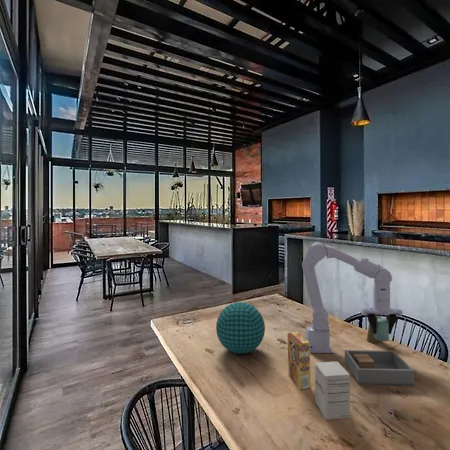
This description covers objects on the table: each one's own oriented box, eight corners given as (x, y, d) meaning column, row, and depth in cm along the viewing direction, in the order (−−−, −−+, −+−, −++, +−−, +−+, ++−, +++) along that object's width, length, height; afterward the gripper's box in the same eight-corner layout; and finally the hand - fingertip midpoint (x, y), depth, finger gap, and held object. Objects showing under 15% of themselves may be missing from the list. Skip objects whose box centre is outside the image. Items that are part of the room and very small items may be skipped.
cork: (384, 344, 125) (384, 319, 124) (368, 343, 126) (369, 318, 125) (379, 338, 131) (379, 314, 130) (365, 337, 132) (365, 313, 131)
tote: (358, 384, 97) (358, 369, 97) (344, 362, 110) (344, 350, 110) (414, 385, 96) (414, 370, 95) (393, 363, 109) (393, 350, 109)
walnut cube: (374, 375, 101) (374, 361, 100) (359, 375, 101) (359, 361, 101) (367, 367, 106) (367, 354, 105) (353, 367, 106) (353, 354, 106)
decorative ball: (206, 352, 121) (205, 304, 120) (238, 336, 136) (237, 293, 135) (244, 369, 108) (243, 315, 107) (274, 349, 122) (274, 302, 121)
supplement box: (314, 403, 88) (314, 362, 87) (338, 401, 89) (338, 360, 88) (325, 420, 81) (324, 376, 80) (350, 418, 81) (350, 374, 81)
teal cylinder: (377, 341, 112) (377, 323, 112) (372, 335, 117) (372, 318, 117) (391, 341, 112) (391, 323, 112) (385, 335, 117) (385, 318, 117)
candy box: (311, 388, 95) (310, 342, 95) (299, 390, 94) (298, 343, 94) (298, 373, 104) (298, 331, 103) (287, 375, 103) (286, 332, 102)
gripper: (366, 301, 110) (366, 337, 111) (406, 301, 109) (406, 337, 110) (359, 296, 117) (359, 329, 118) (397, 296, 116) (396, 330, 117)
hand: (381, 333), depth 115 cm, fingers closed on teal cylinder, 5 cm apart
